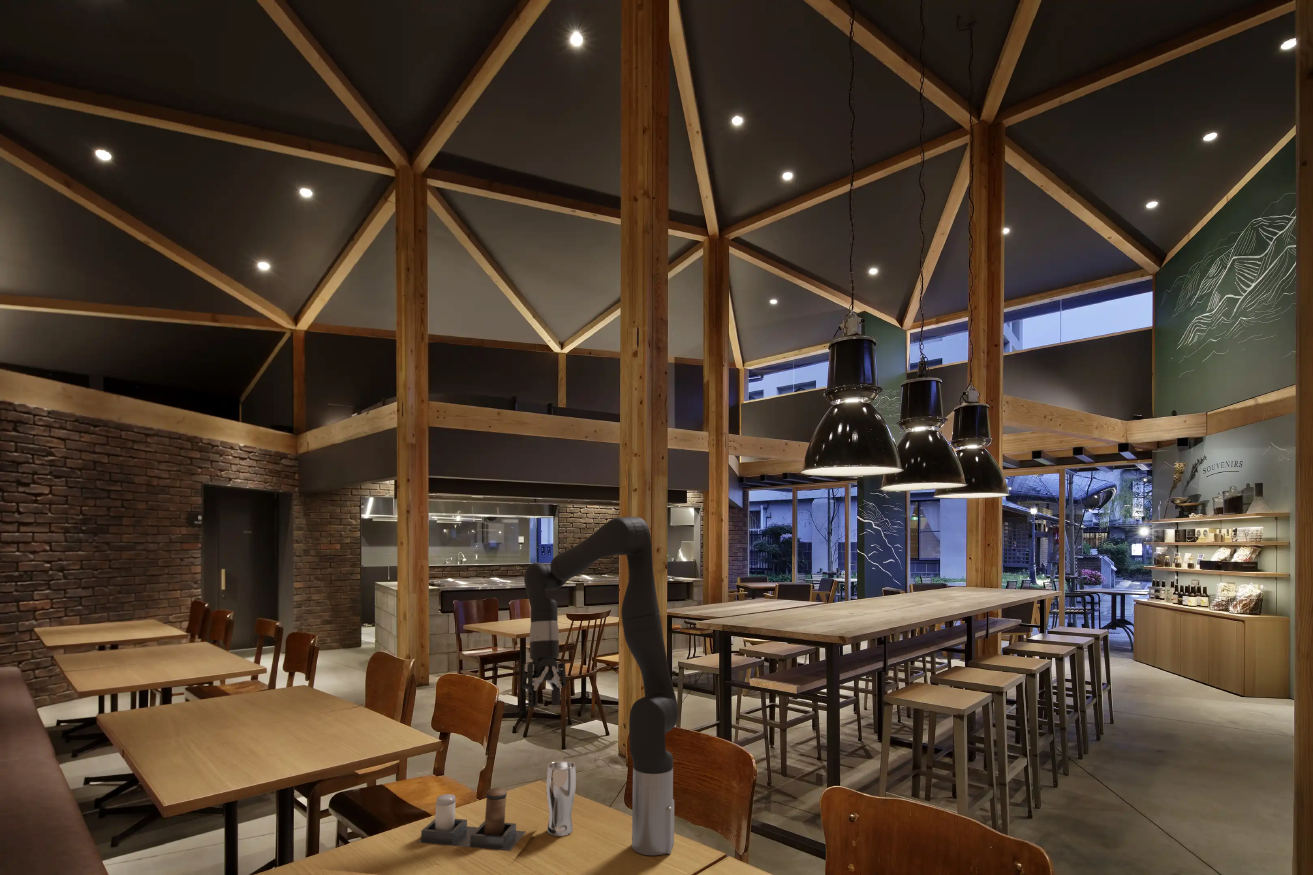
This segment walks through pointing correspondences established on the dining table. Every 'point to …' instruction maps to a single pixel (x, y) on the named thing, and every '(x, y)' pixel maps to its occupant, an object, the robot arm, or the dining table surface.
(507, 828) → the condiment caddy
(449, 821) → the salt shaker
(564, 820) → the beer glass
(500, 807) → the brown wooden cylinder
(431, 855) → the dining table surface
